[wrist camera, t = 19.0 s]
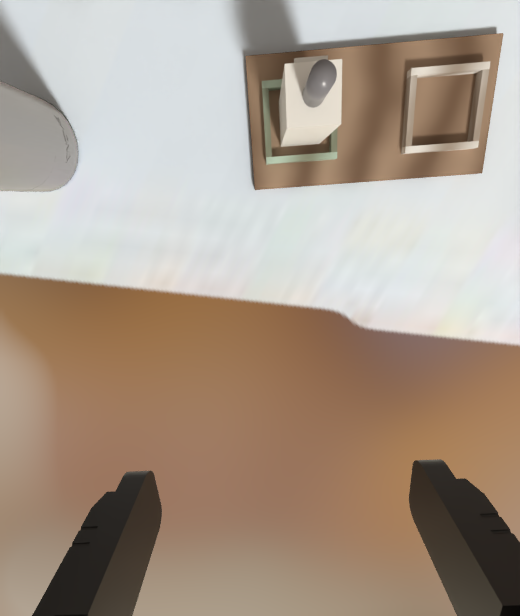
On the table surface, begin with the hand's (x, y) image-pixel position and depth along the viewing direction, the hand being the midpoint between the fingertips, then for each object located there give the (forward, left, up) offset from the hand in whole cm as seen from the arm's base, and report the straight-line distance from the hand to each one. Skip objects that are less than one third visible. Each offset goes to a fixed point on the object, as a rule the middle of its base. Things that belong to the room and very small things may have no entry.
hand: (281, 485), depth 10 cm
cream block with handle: (+4, +15, -29) cm, 33 cm away
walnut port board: (+11, +15, -30) cm, 35 cm away
